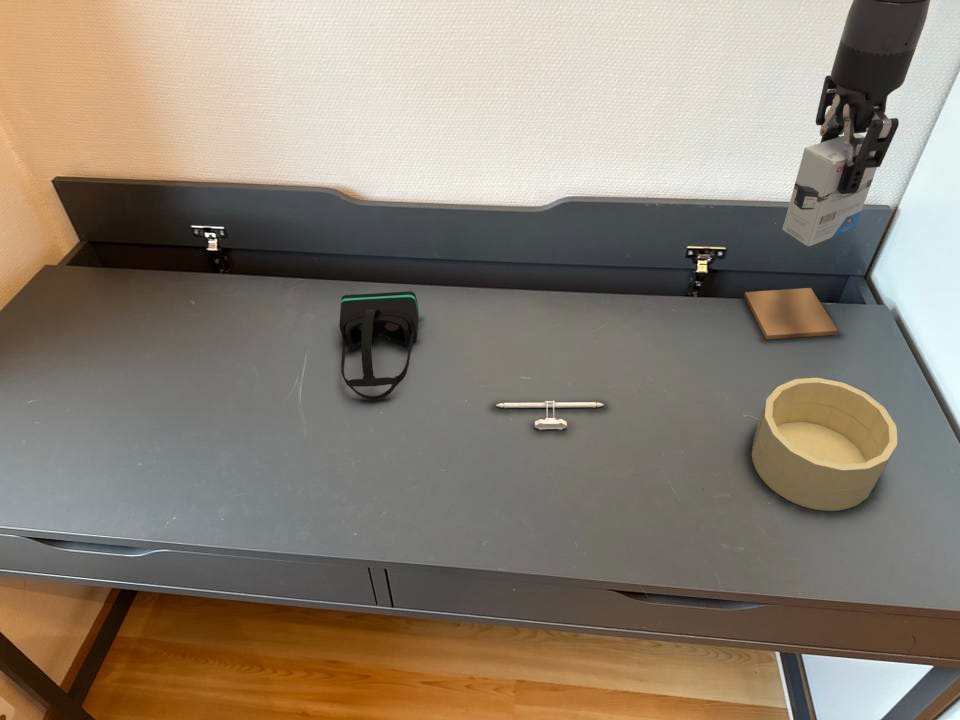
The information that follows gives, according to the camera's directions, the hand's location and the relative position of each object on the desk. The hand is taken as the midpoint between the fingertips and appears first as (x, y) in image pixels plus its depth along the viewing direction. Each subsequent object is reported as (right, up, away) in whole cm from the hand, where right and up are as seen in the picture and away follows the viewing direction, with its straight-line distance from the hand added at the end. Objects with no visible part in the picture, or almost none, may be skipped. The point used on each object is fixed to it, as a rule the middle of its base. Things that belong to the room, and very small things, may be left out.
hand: (834, 177), depth 87 cm
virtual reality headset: (-58, -23, +13) cm, 64 cm away
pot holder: (+1, -16, +16) cm, 23 cm away
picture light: (-35, -30, +4) cm, 46 cm away
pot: (-5, -35, -4) cm, 35 cm away
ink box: (0, -6, +5) cm, 8 cm away
